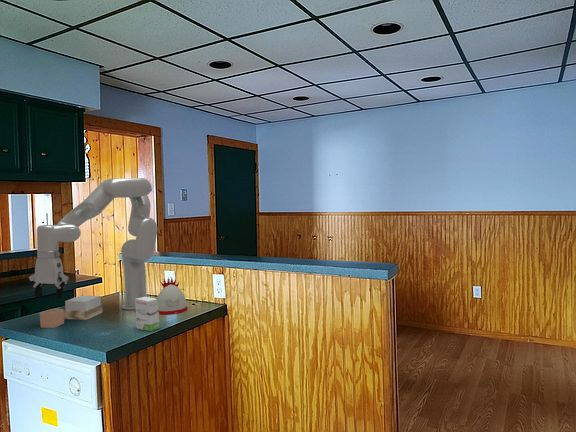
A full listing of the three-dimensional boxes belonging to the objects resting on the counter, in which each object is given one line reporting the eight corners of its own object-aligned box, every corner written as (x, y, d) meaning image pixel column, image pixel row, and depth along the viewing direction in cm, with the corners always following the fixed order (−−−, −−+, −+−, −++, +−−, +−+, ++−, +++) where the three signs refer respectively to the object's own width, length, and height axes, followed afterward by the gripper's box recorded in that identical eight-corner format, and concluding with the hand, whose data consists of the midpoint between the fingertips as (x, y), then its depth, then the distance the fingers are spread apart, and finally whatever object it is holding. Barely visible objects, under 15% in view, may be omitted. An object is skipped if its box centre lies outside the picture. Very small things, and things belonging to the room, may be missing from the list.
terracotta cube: (64, 323, 174) (63, 309, 174) (53, 328, 168) (53, 313, 168) (51, 323, 175) (50, 308, 175) (40, 327, 169) (39, 312, 169)
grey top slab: (101, 304, 188) (100, 295, 188) (86, 310, 178) (85, 301, 178) (81, 304, 190) (80, 295, 190) (65, 310, 180) (65, 301, 180)
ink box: (160, 328, 164) (158, 298, 163) (149, 331, 160) (147, 301, 159) (146, 324, 169) (145, 295, 168) (135, 328, 165) (134, 298, 164)
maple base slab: (102, 313, 189) (102, 304, 189) (87, 320, 178) (86, 311, 178) (80, 312, 191) (80, 304, 191) (63, 320, 180) (63, 310, 180)
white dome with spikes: (154, 308, 193) (152, 276, 192) (184, 305, 198) (183, 273, 197) (157, 316, 180) (155, 282, 179) (189, 312, 185) (188, 278, 185)
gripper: (73, 254, 172) (74, 296, 172) (36, 254, 175) (37, 294, 175) (60, 256, 165) (61, 300, 165) (22, 256, 168) (23, 298, 168)
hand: (49, 297), depth 170 cm, fingers open, 9 cm apart
